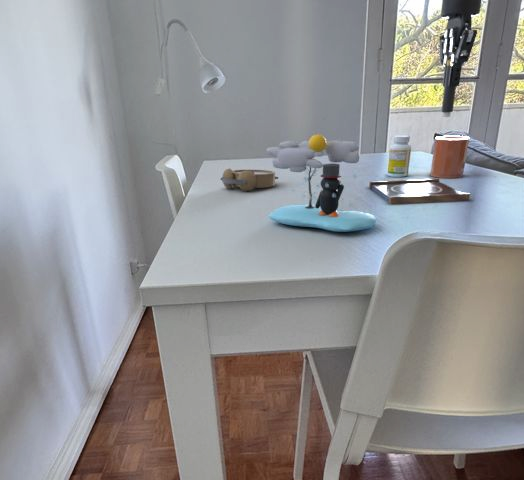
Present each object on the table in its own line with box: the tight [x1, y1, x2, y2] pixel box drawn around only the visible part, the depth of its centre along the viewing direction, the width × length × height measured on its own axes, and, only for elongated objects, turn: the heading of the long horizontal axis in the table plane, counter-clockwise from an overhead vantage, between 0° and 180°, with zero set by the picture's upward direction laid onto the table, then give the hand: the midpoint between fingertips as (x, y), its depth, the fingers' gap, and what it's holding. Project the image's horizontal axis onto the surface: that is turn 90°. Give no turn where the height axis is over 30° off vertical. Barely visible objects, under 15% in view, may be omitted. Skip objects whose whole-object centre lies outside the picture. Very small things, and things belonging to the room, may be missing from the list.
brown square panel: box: [368, 178, 471, 205], centre depth 105 cm, size 17×17×1 cm
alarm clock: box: [220, 168, 279, 192], centre depth 117 cm, size 11×5×15 cm
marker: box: [440, 60, 457, 118], centre depth 104 cm, size 2×2×11 cm
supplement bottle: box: [387, 134, 412, 178], centre depth 123 cm, size 5×5×10 cm
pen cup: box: [430, 135, 470, 179], centre depth 120 cm, size 8×8×9 cm
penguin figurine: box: [266, 133, 377, 233], centre depth 81 cm, size 20×11×15 cm, turn 51°
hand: (450, 86), depth 103 cm, fingers closed on marker, 2 cm apart
